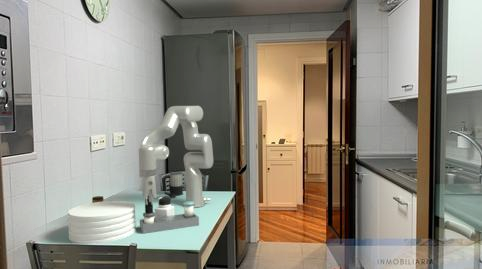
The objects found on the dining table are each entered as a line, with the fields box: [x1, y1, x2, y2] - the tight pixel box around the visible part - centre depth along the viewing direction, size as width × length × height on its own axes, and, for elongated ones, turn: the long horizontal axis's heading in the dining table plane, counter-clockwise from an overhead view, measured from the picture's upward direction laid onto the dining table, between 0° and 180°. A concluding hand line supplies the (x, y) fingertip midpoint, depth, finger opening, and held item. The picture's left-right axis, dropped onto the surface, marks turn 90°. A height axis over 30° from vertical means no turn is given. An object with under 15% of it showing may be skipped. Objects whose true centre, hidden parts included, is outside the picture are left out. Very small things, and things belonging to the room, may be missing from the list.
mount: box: [139, 213, 200, 235], centre depth 164 cm, size 26×9×4 cm, turn 115°
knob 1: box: [142, 211, 155, 223], centre depth 160 cm, size 5×5×7 cm
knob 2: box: [182, 200, 195, 218], centre depth 168 cm, size 5×5×7 cm
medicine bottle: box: [154, 196, 175, 218], centre depth 173 cm, size 7×7×12 cm
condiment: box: [91, 195, 104, 203], centre depth 177 cm, size 7×8×12 cm
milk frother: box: [162, 171, 184, 199], centre depth 232 cm, size 14×16×15 cm
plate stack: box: [67, 200, 137, 245], centre depth 156 cm, size 28×28×12 cm
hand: (149, 212), depth 160 cm, fingers closed
